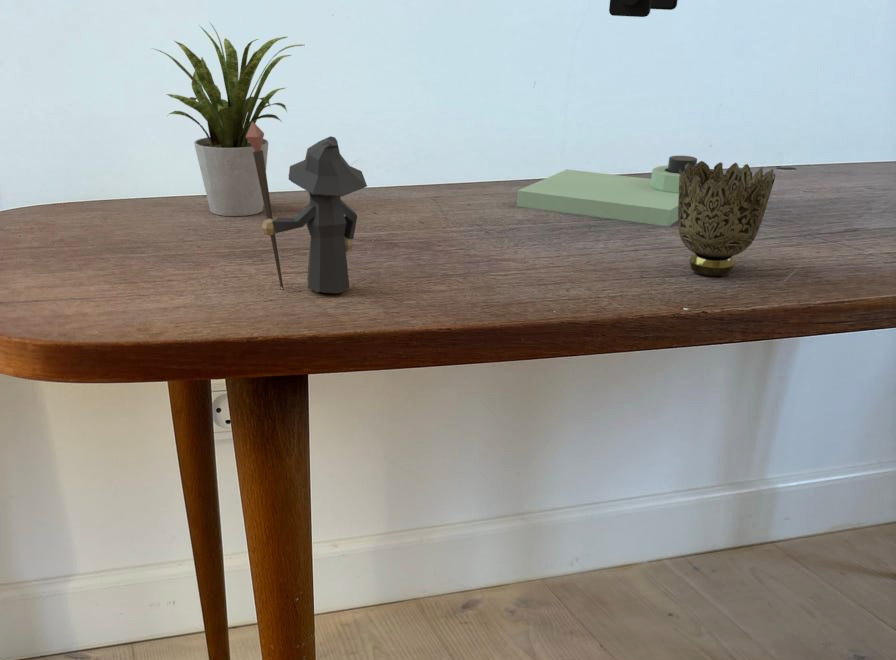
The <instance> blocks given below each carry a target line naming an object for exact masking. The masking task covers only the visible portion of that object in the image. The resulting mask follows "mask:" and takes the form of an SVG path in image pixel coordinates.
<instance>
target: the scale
mask: <svg viewBox="0 0 896 660" xmlns="http://www.w3.org/2000/svg"><path fill="white" fill-rule="evenodd" d="M667 170H668V165H667V164H666V165H659V166H656V167H654V168H652V170H651V177H650V178H643V177H635V176H627V175H619V174H610V173H602V172H594V171H593V172H592V171H585V170H584V171H583V170H576V169H565V170H562V171H560V172H558V173H555V174H553V175H551V176H547V177H546V178H543V179H541V180H539V181H537V182H534V183H532V184H529V185H527V186H525V187H522V188H520V189H518V190H517V196H516V207H520V208H527V209H528V208H529V209H535V210H541V211H542V210H543V211H550V212H557V213H566V214H573V215H579V216H580V215H581V216H587V217H595V218H602V219H609V220H619V221H624V222H633V223H639V224H640V223H641V224H648V225H654V226H655V225H656V226H661V227H662V226H663V227H670V226H671V225H673V224H674V223H676V222H678V200H679V174H677V173H670V172H667Z"/></svg>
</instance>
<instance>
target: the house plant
mask: <svg viewBox="0 0 896 660" xmlns="http://www.w3.org/2000/svg"><path fill="white" fill-rule="evenodd" d="M209 24H210V25H211V27H212V28H213V30H214V32H215V34H216V37H217V39H218V42H219V45H220V46H218V44H217V42H216V41H215V40H214V39H213V37H212V36H211V35H210V34H209V32H208V31H206V30H205V29H204V28H203V27H202V26H201V25H200V24H198V26H199V27H200V28H201V30H202V31H203V32H204V33H205V34H206V36H207V37H208V38H209V40H210V41H211V42H212V45H213V47H214V49H215V52H216V55H217V57H218V58H217V59H218V61H219V65H220V68H221V73H222V77H223V83H224V88H225V92H226V98H227V100H226V99H224V98H222V93H221V90H220V88H219V87H218V85H216V83H215V81H214V78H213V74H212V73H211V70H210V69H209V67H208V65H207V63H206V61H205V60H204V58H203V56H201V58H199V56H197V54H196V53H194V52H193V51H192V50H191V49H190V48H188V46H186V45H185V44H183V43H181V42H179V41H177V40H174V43H176V44H177V45H178V46H179V48H180V49H181V51H183V52H184V54H185V55H186V57H187V59H188V60H189V62H190V64H191V65H192V67H193V70H194V72H193V73H190V72H189V71H188V70H187V69H186V68H185V67H184V66H183V65H182V64H181V63H180V61H178V60H177V59H176V58H174V57H173V56H171V55H170V54H168V53H167V52H164V51H162V50H159V49H156V48H153V47H151V49H153V50H156V51H158V52H160V53H162V54H164V55H166V56H167V57H169V58H170V59H171V60H172V61H173V62H174V63H175V65H177V66H178V67H179V69H181V70H182V71H183V73H184V74H186V75H187V76H188V78H189V79H190V80H191V89H192V91H193V94H194V96H195V97H194V96H190V97H187V96H184V95H179V94H171V93H167V94H165V95H167V96H169V97H170V98H172V99H176V100H178V101H180V102H181V103H183V104H184V105H186V106H187V107H190V108H192V109H193V110H195V111H196V112H198V113H199V114H200V115H201V116H202V117H203V118H204V119H205V121H206V123H207V128H208V132H207V130H206V129H205V127H203V125H201V123H200V122H199V121H198V120H197V119H195V118H194V117H193V116H192V115H190V114H188V113H187V112H185V111H181V110H174V111H172V112H170V113H168V114H167V115H166V117H168V116H169V115H179V116H184V117H186V118H189V120H191V121H193V122H195V124H197V125H198V126H199V127H200V128H201V129H202V131H203V132H204V133H205V135H206V137H203V138H199V139H195V141H194V142H193V144H194V149H195V152H196V157H197V162H198V165H199V169H200V173H201V178H202V182H203V186H204V190H205V195H206V199H207V202H208V206H209V211H210V213H212V214H214V215H218V216H225V217H244V216H252V215H256V214H257V215H258V214H259V213H261V212H263V210H264V201H263V197H262V192H261V187H260V183H259V178H258V173H257V168H256V164H255V159H254V154H253V152H254V151H255V150H254V148H253V147H252V146H251V144H250V143H249V141H248V140H247V138H246V135H247V133H248V130H249V128H250V126H251V123H252V121H253V122H254V123H255V124H256V123H257V121H258V120H261V119H265V118H267V119H274V120H275V119H276V120H278V121H280V122H281V123H282V124H283V123H284V122H283V121H282V120H281V119H280V118H279V117H278V116H277V115H276V114H271V113H266V114H262V112H263V110H264V109H265V108H267V107H269V108H271V106H274V105H276V106H280V107H281V108H282V109H284V110H285V112H286V113H288V111H287V107H286V104H284V103H282V102H274V103H270V100H271V99H272V97H274V96H275V94H276V93H278V91H281V90H285V89H287V88H289V87H281V88H276V89H273V90H271V91H269V92H268V93H267V94H266V95H265V96H264V97H260V94H261V91H262V89H263V87H264V84H265V82H266V81H267V79H268V76H269V75H270V73H271V72H272V70H273V69H275V67H276V65H277V64H278V63H279V62H280V61H281V60H282V59H284V58H288V57H291V56H292V54H286V55H285V54H284V55H280V56H277V55H278V54H279V53H281V52H283V51H284V50H287V49H289V48H294V47H303V46H304V44H292V45H288V46H285V47H284V48H282V49H280V50H278V52H276V53H275V54H274V55H273V56H272V58H271V59H270V60H269V61H268V63H267V64H266V65H265V67H264V68H263V70H262V72H261V74H260V75H259V77H258V79H257V81H256V83H255V84H254V87H253V89H252V91H251V92H250V94H249V91H250V87H251V84H252V80H253V78H254V76H255V73H256V71H257V69H258V66H259V65H260V63H261V61H262V60H263V58H264V57H265V55H266V53H268V51H270V49H271V48H272V47H273V46H274V44H275V43H277V42H278V41H281V40H284V39H287V38H288V36H281V37H276V38H272V39H270V40H268V41H266V42H265V43H264V44H262V45H261V47H259V48H258V49H257V50H256V51H254V52H253V53H252V55H251V56H250V59H248V54H249V51H250V47H251V46H252V43H254V42H256V41H258V40H259V38H256V39H254V40H251V41H250V42H249V43H248V44H246V46H245V48H244V50H243V53H242V58H241V63H240V69H239V58H238V51H237V50H236V48H235V46H234V45H233V44H232V43H231V41H230V40H229V39H227V38H226V37H225V38H224V40H223V44H222V41H221V39H220V36H219V33H218V32H217V30H216V28H215V26H213V24H212V23H211V22H209ZM223 46H224V48H223ZM224 52H225V53H224ZM276 56H277V57H276ZM275 57H276V58H275ZM273 58H274V59H273ZM247 61H248V62H247ZM192 74H193V75H192ZM255 89H256V91H255V92H254V90H255ZM253 93H254V94H253ZM248 94H249V96H248ZM252 95H253V96H252ZM258 100H260V102H259V103H258V105H257V102H258ZM256 105H257V106H256ZM255 107H256V108H255ZM253 112H254V113H253ZM261 114H262V115H261ZM261 150H263V155H264V162H265V169H266V170H267V164H268V155H269V154H268V153H269V152H268V151H269V140H268V139H266V138H263V142H262V146H261Z"/></svg>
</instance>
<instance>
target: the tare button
mask: <svg viewBox="0 0 896 660" xmlns="http://www.w3.org/2000/svg"><path fill="white" fill-rule="evenodd" d="M687 163H689V164H691V166H692V168H693V167H694V166H695V165H696V164H697V163H698V158H697V157H695V156H691V155H671V156H669V157H668V162H667V164H668V170H667V172H670V173H677V174H679V169H680V168H681V170H682V172H684V171H685V165H686V164H687Z"/></svg>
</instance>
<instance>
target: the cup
mask: <svg viewBox="0 0 896 660" xmlns="http://www.w3.org/2000/svg"><path fill="white" fill-rule="evenodd" d="M723 165H724V164H723V162H718V163H716V164H715V166H714V167H713V169H712V168H711V167H710V166H709V165H708V164H707V163H706V162H705V161H703V160H701V161H699V162H697V164H696V165H695V166H694V167H693V168H692V166H691V164H689V163H687V164H686V165H685V171H684V172H682V170H681V168H680V169H679V200H678V221H677V225H678V233H679V237H680V239H681V240H680V241H681V242H682V243H683V245H684V246H685V248H687V249H688V251H690V252H692V254H691V256H690V258H689V266H690V269H691V271H693V272H695V273H696V274H698V275H701V276H707V277H723V276H726V275H729V274H730V273H731V272H732V271H733V269H734V268H735V266H736V259H735V256H738V255H739V254H741V253H743V252H744V251H746V250H747V249H749V247H750V246H751V245H752V244H753V242H754V240H755V239H756V237H757V234H758V233H759V231H760V228H761V225H762V222H763V220H764V215H765V214H766V213H765V212H766V209H767V206H768V203H769V200H770V196H771V193H772V190H773V185H774V183H775V179H776V173H774V169H773V168H772V169H771V168H770V169H769V170H768V171H766V172H765V173H764V168H763V166H760V167H759V168H758V170H756V171H755V172H754V174H753V171H752V170H751V167H750V165H749V164H748V163H745V164H744V165H743V166H742V168H741V167H740V166H739V164H738V163H737V162H733V163H732V164H731V165H730V166H729V167H728V168H727V170H726V171H725V173H724V168H723V167H724V166H723Z"/></svg>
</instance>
